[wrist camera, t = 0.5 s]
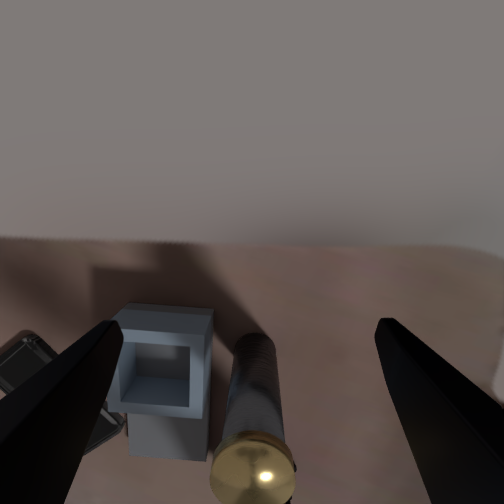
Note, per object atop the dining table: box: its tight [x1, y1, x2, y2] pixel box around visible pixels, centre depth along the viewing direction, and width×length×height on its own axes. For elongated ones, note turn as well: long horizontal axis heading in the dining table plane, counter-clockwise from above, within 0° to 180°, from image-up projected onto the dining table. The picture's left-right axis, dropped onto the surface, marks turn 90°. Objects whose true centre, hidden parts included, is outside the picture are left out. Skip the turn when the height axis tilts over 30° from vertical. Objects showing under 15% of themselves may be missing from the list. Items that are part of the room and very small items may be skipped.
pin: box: [210, 333, 295, 504], centre depth 23 cm, size 5×5×13 cm
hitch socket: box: [107, 302, 214, 462], centre depth 28 cm, size 18×9×5 cm, turn 176°
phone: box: [0, 334, 125, 456], centre depth 31 cm, size 8×1×15 cm
